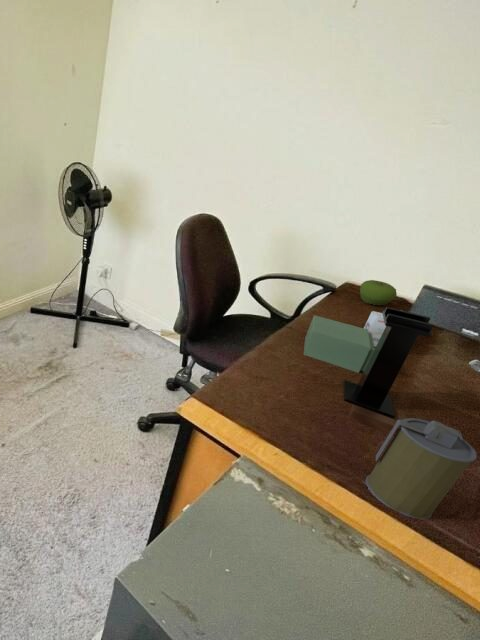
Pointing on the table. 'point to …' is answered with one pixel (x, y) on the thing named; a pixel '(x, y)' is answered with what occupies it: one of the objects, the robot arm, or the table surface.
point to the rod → (372, 419)
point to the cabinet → (337, 343)
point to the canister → (419, 466)
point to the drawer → (368, 353)
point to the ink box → (375, 326)
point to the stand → (387, 361)
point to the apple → (377, 292)
